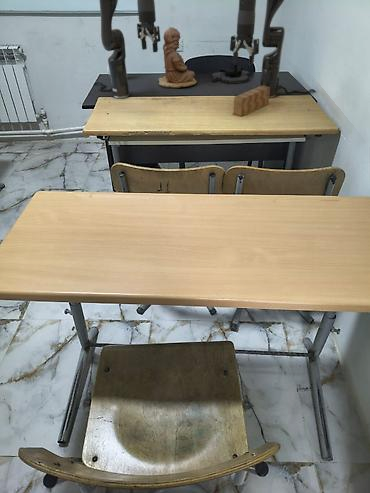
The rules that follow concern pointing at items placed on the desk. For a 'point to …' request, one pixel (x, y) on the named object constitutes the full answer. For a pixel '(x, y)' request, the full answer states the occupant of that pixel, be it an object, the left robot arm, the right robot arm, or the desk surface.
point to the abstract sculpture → (231, 74)
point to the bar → (251, 100)
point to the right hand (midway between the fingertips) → (243, 63)
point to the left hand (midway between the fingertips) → (149, 50)
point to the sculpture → (175, 63)
